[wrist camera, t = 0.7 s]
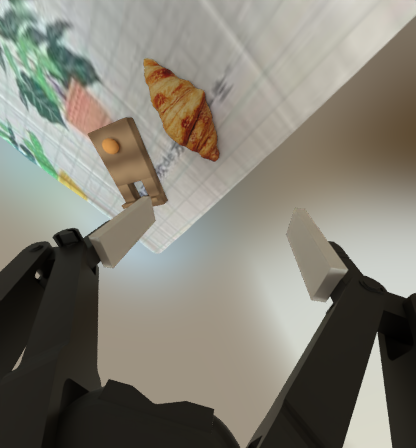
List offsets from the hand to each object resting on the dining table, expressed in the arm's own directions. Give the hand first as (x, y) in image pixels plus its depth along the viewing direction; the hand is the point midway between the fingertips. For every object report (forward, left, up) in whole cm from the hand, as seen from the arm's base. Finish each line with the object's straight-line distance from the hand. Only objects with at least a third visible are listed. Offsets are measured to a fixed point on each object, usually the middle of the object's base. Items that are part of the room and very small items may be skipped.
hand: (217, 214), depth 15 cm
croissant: (-12, -7, -26) cm, 29 cm away
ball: (-11, -25, -21) cm, 34 cm away
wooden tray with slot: (-5, -25, -25) cm, 36 cm away
